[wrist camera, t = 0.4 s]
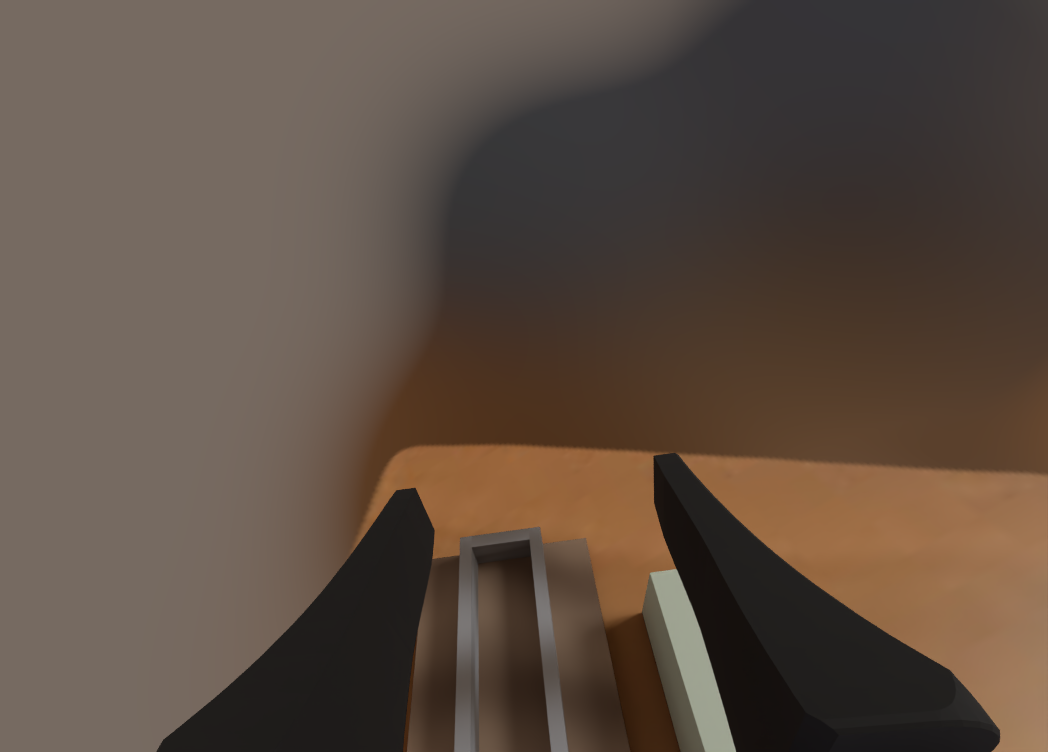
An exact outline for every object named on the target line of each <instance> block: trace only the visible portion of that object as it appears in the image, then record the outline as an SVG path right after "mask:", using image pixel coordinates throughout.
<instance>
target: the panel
mask: <svg viewBox="0 0 1048 752" xmlns="http://www.w3.org/2000/svg"><path fill="white" fill-rule="evenodd" d="M642 614H643V617H644V621H645V624H646V628H647V632H648V635H649V639H650V643H651V646H652V650H653V654H654V657H655V661H656V664H657V668H658V672H659V675H660V679H661V683H662V686H663V690H664V694H665V697H666V701H667V704H668V708H669V712H670V715H671V719H672V723H673V726H674V730H675V734H676V737H677V741H678V744H679V748H680V752H736V750H735V746H734V743H733V739H732V735H731V732H730V728H729V725H728V721H727V718H726V714H725V711H724V707H723V704H722V700H721V697H720V693H719V690H718V687H717V683H716V680H715V676H714V673H713V670H712V666H711V663H710V660H709V656H708V653H707V650H706V647H705V643H704V640H703V637H702V634H701V630H700V627H699V625H698V622H697V619H696V616H695V613H694V611H693V608H692V606H691V603H690V601H689V598H688V596H687V593H686V591H685V589H684V586H683V584H682V581H681V579H680V576H679V574H678V571H677V569H675V570H667V571H660V572H653V573H650V576H649V580H648V585H647V590H646V595H645V600H644V605H643V609H642Z"/></svg>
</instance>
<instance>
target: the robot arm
mask: <svg viewBox="0 0 1048 752" xmlns="http://www.w3.org/2000/svg"><path fill="white" fill-rule="evenodd" d="M654 504H655V508H656V511H657V515H658V519H659V522H660V526H661V529H662V533H663V536H664V539H665V541H666V544H667V546H668V549H669V551H670V554H671V556H672V559H673V561H674V564H675V566H676V569H677V571H678V574H679V576H680V579H681V581H682V584H683V586H684V589H685V591H686V593H687V596H688V598H689V601H690V603H691V606H692V608H693V611H694V613H695V616H696V619H697V622H698V625H699V627H700V630H701V634H702V637H703V640H704V643H705V647H706V650H707V653H708V656H709V660H710V663H711V666H712V670H713V673H714V676H715V680H716V683H717V687H718V690H719V693H720V697H721V700H722V704H723V707H724V711H725V714H726V718H727V721H728V725H729V728H730V732H731V735H732V739H733V743H734V746H735V750H736V752H991V751H992V750H994V749H995V747H996V746H997V745H998V744H999V742H1000V730H999V729H998V727H997V726H996V725H995V723H994V722H993V721H992V720H991V718H990V717H989V716H988V714H987V713H986V712H985V710H984V709H983V708H982V707H981V705H980V704H979V703H978V702H977V700H976V699H975V698H974V697H973V696H972V694H971V693H970V692H969V691H968V690H967V689H966V688H965V687H964V685H963V684H962V683H961V682H960V681H959V680H958V679H957V678H956V677H955V676H954V674H953V673H952V672H951V671H950V670H949V669H947V668H945V667H943V666H942V665H940V664H938V663H937V662H935V661H933V660H931V659H930V658H928V657H926V656H925V655H923V654H921V653H919V652H918V651H916V650H914V649H913V648H911V647H909V646H907V645H906V644H904V643H902V642H901V641H899V640H897V639H896V638H894V637H892V636H891V635H889V634H888V633H886V632H884V631H883V630H881V629H880V628H878V627H877V626H875V625H874V624H872V623H870V622H869V621H867V620H866V619H864V618H863V617H861V616H860V615H858V614H857V613H855V612H854V611H852V610H851V609H849V608H848V607H847V606H845V605H844V604H842V603H841V602H839V601H838V600H837V599H835V598H834V597H832V596H831V595H829V594H828V593H827V592H825V591H824V590H822V589H821V588H819V587H818V586H817V585H815V584H814V583H812V582H811V581H810V580H808V579H807V578H806V577H805V576H803V575H802V574H801V573H799V572H798V571H797V570H795V569H794V568H793V567H792V566H790V565H789V564H788V563H787V562H785V561H784V560H783V559H782V558H780V557H779V556H778V555H777V554H775V553H774V552H773V551H772V550H771V549H770V548H768V547H767V546H766V545H765V544H764V543H763V542H761V541H760V540H759V539H758V538H757V537H756V536H755V535H754V534H752V533H751V532H750V531H749V530H748V529H747V528H746V527H745V526H744V525H743V524H742V523H741V522H739V521H738V520H737V519H736V518H735V517H734V516H733V515H732V514H731V513H730V512H729V511H728V510H727V509H726V508H725V507H724V506H723V505H722V504H721V503H720V502H719V501H718V500H717V499H716V498H715V497H714V496H713V494H712V493H711V492H710V491H709V490H708V489H707V488H706V487H705V486H704V485H703V484H702V482H701V481H700V480H699V479H698V478H697V477H696V476H695V475H694V473H693V472H692V471H691V470H690V469H689V468H688V466H687V465H686V464H685V463H684V462H683V460H682V459H681V458H680V457H679V455H677V454H676V453H670V454H663V455H655V456H654ZM434 532H435V530H434V528H433V526H432V523H431V521H430V519H429V517H428V515H427V512H426V510H425V508H424V506H423V504H422V501H421V499H420V497H419V495H418V492H417V490H416V488H410V489H403V490H396V492H395V493H394V494H393V496H392V497H391V498H390V500H389V501H388V503H387V504H386V506H385V507H384V509H383V510H382V511H381V513H380V514H379V516H378V517H377V519H376V520H375V522H374V523H373V525H372V526H371V527H370V529H369V530H368V532H367V533H366V535H365V536H364V537H363V539H362V540H361V542H360V543H359V544H358V546H357V547H356V548H355V550H354V551H353V553H352V554H351V555H350V557H349V558H348V559H347V561H346V562H345V563H344V565H343V566H342V567H341V568H340V570H339V571H338V572H337V573H336V575H335V576H334V577H333V579H332V580H331V581H330V582H329V584H328V585H327V586H326V587H325V589H324V590H323V591H322V592H321V594H320V595H319V596H318V597H317V598H316V599H315V600H314V602H313V603H312V604H311V605H310V606H309V607H308V608H307V610H306V611H305V612H304V613H303V614H302V615H301V616H300V617H299V618H298V619H297V621H295V623H294V624H293V625H292V626H291V627H290V628H289V629H288V630H287V631H286V632H285V633H284V634H283V635H282V636H281V637H280V638H279V639H278V640H277V641H276V642H275V643H274V644H273V645H272V646H271V647H270V648H269V649H268V650H267V651H266V652H265V653H264V654H263V655H262V656H261V657H260V658H259V659H258V660H257V661H255V662H254V663H253V664H252V665H251V666H250V667H249V668H248V669H247V670H246V671H245V672H244V673H242V674H241V675H240V676H239V677H238V678H237V679H236V680H235V681H234V682H233V683H231V684H230V685H229V686H228V687H227V688H226V689H225V690H223V691H222V692H221V693H220V694H219V695H218V696H217V697H215V698H214V699H213V700H212V701H211V702H209V703H208V704H207V705H206V706H204V707H203V708H202V709H201V710H200V711H198V712H197V713H196V714H195V715H194V716H192V717H191V718H190V719H189V720H187V721H186V722H185V723H184V724H182V725H181V726H180V727H179V728H178V729H176V730H175V731H174V732H173V733H171V734H170V735H169V736H168V737H166V738H165V739H164V740H163V741H162V743H161V745H160V746H159V748H158V750H157V752H403V743H404V731H405V721H406V711H407V701H408V692H409V683H410V675H411V667H412V658H413V652H414V647H415V641H416V636H417V632H418V627H419V622H420V618H421V613H422V608H423V604H424V599H425V594H426V590H427V585H428V580H429V575H430V570H431V565H432V556H433V546H434Z"/></svg>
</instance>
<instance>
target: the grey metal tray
mask: <svg viewBox="0 0 1048 752" xmlns="http://www.w3.org/2000/svg"><path fill="white" fill-rule="evenodd" d="M407 752H630V748H629V743H628V738H627V733H626V729H625V724H624V719H623V714H622V709H621V705H620V700H619V695H618V690H617V685H616V681H615V676H614V671H613V666H612V661H611V657H610V652H609V647H608V642H607V637H606V632H605V628H604V623H603V618H602V613H601V608H600V604H599V599H598V594H597V589H596V584H595V580H594V575H593V570H592V565H591V560H590V556H589V551H588V546H587V541H586V538H582V539H575V540H568V541H561V542H553V543H546V544H543V543H542V537H541V531H540V527H535V528H528V529H521V530H513V531H506V532H499V533H492V534H484V535H477V536H470V537H463V538H460V555H459V556H451V557H444V558H437V559H432V565H431V570H430V575H429V580H428V585H427V590H426V594H425V599H424V604H423V608H422V613H421V618H420V622H419V627H418V635H417V646H416V657H415V668H414V679H413V690H412V701H411V712H410V723H409V734H408V745H407Z"/></svg>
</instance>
